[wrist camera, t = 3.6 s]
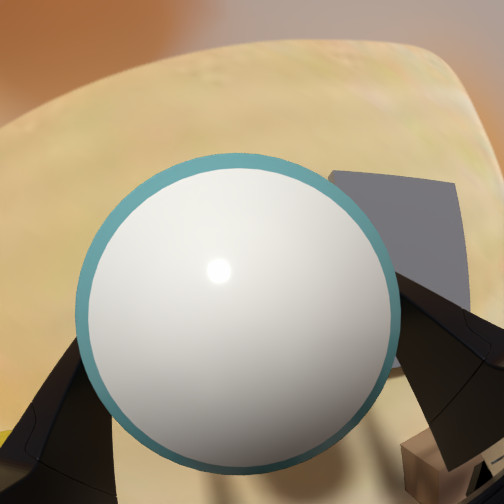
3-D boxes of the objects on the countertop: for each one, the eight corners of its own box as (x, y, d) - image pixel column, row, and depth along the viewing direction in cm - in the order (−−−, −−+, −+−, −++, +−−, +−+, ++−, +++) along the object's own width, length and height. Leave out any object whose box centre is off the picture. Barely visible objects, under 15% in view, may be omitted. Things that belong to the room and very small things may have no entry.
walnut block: (454, 458, 16) (491, 478, 11) (404, 489, 15) (437, 518, 10) (452, 411, 16) (496, 427, 12) (399, 443, 16) (438, 471, 11)
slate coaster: (461, 348, 17) (469, 349, 16) (338, 372, 16) (344, 375, 15) (447, 187, 19) (454, 183, 18) (328, 176, 19) (333, 170, 18)
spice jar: (288, 360, 16) (417, 471, 4) (181, 362, 16) (71, 482, 3) (286, 255, 17) (406, 138, 5) (180, 256, 17) (67, 138, 4)
